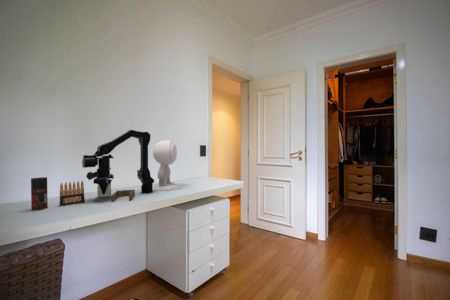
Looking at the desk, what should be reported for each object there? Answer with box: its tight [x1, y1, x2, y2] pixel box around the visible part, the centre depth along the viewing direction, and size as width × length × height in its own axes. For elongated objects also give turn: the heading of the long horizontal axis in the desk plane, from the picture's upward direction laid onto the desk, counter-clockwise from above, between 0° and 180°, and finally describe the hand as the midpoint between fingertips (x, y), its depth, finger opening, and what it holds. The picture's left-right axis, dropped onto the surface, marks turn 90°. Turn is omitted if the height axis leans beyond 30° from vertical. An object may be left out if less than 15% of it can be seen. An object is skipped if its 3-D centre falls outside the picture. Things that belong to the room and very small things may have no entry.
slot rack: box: [110, 189, 136, 203], centre depth 123 cm, size 10×14×4 cm
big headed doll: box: [152, 139, 181, 192], centre depth 154 cm, size 20×23×35 cm
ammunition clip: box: [59, 180, 86, 207], centre depth 111 cm, size 11×2×12 cm, turn 132°
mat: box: [92, 195, 112, 202], centre depth 122 cm, size 9×9×1 cm
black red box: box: [30, 176, 49, 211], centre depth 103 cm, size 6×6×15 cm
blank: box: [96, 183, 112, 197], centre depth 122 cm, size 6×4×6 cm, turn 106°
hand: (104, 193), depth 122 cm, fingers closed on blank, 4 cm apart
